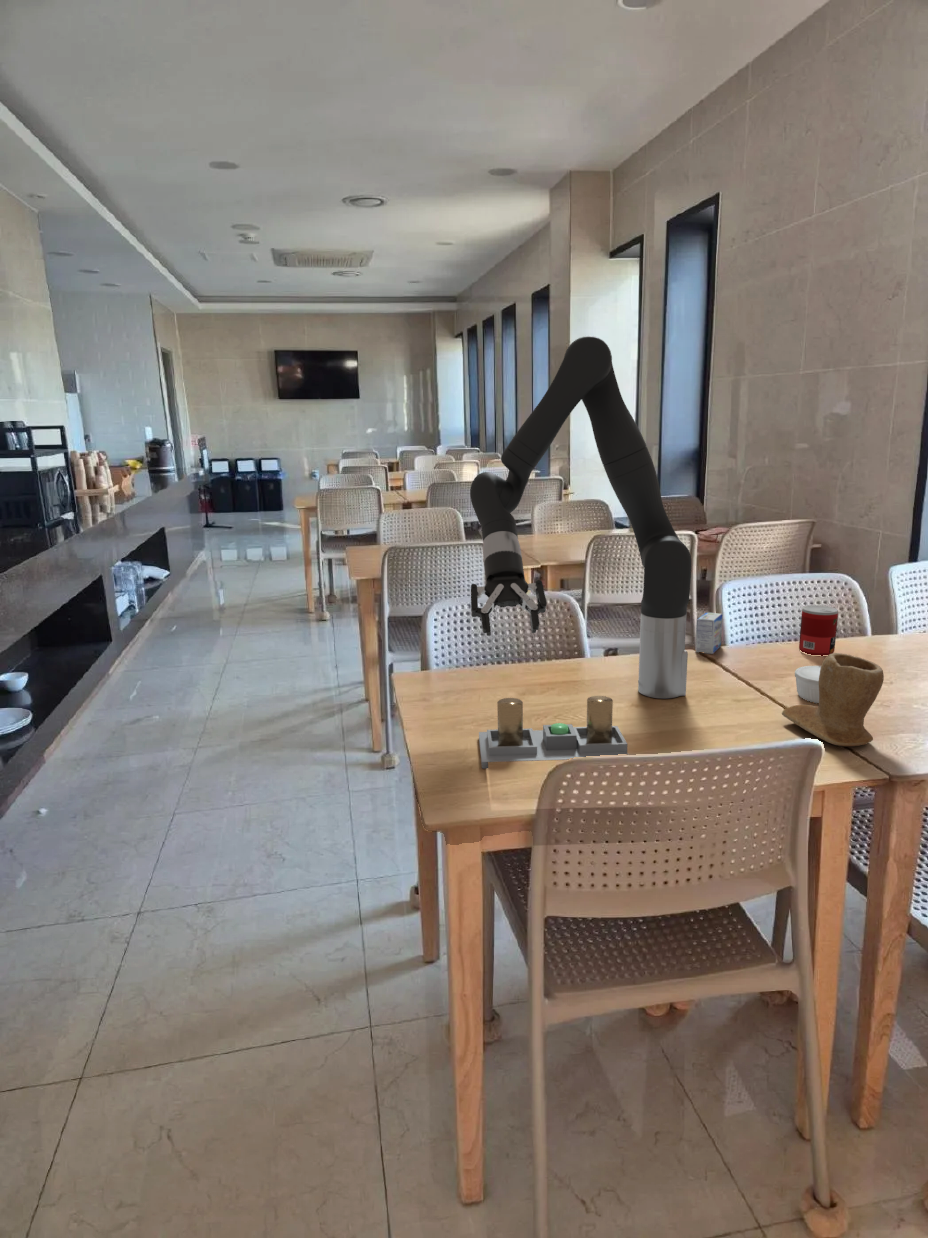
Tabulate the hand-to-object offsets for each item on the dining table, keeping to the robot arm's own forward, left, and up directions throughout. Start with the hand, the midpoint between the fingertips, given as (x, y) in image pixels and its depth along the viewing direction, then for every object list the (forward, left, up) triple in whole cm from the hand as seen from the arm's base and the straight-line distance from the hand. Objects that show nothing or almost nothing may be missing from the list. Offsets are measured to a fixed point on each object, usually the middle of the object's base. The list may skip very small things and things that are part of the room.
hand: (511, 632), depth 145 cm
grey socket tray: (-6, +12, -19) cm, 23 cm away
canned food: (-78, -42, -19) cm, 90 cm away
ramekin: (-65, -11, -19) cm, 68 cm away
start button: (-7, +12, -16) cm, 22 cm away
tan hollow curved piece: (-58, +8, -19) cm, 61 cm away
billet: (+1, +12, -17) cm, 21 cm away
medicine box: (-53, -47, -19) cm, 73 cm away
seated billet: (-14, +12, -17) cm, 26 cm away
